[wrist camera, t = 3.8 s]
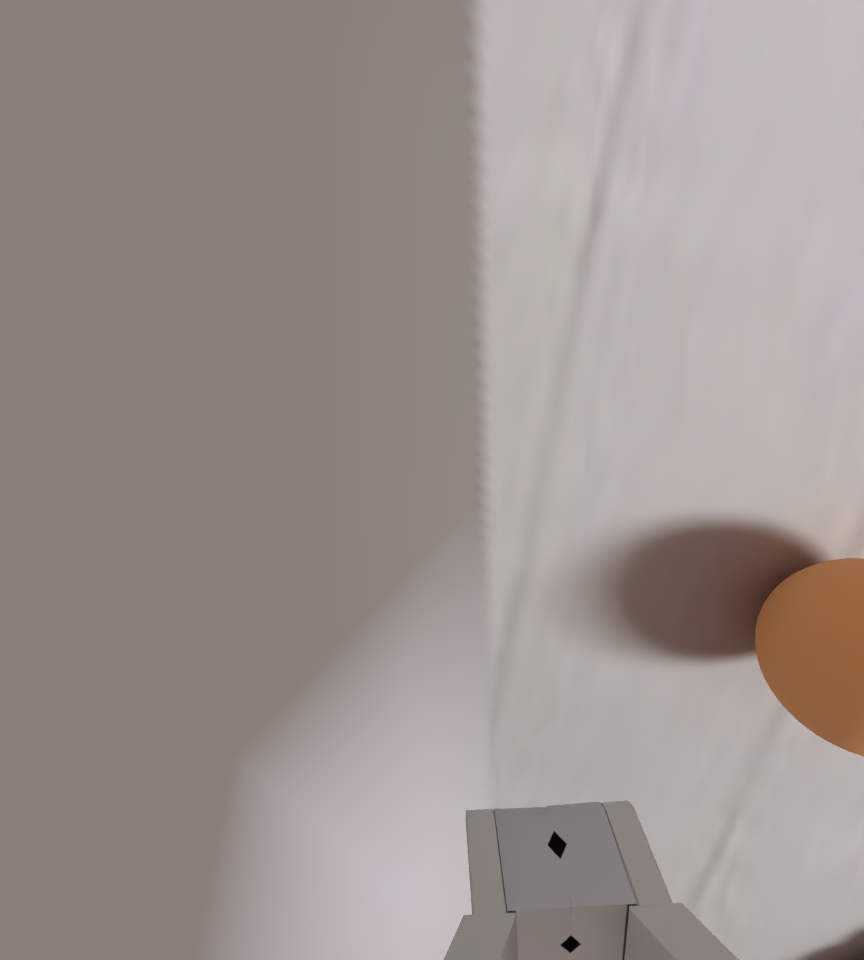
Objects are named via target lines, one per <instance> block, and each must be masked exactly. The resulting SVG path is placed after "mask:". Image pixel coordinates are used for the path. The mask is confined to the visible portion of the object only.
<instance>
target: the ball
mask: <svg viewBox="0 0 864 960" xmlns="http://www.w3.org/2000/svg"><path fill="white" fill-rule="evenodd" d="M755 647H756V654H757V658H758V662H759V665H760V668H761V671H762V673H763V675H764V678H765V680H766V681H767V683H768V685H769V687H770V689H771V690H772V692H773V693H774V694H775V696H776V697H777V699H778V700H779V701H780V703H781V704H782V705H783V706H784V707H785V708H786V709H787V710H788V711H789V712H790V713H791V714H792V715H793V716H794V717H795V718H796V719H797V720H798V721H799V722H800V723H802V724H803V725H804V726H806V727H807V728H808V729H809V730H811V731H812V732H814V733H815V734H817V735H818V736H820V737H821V738H823V739H825V740H826V741H828V742H830V743H832V744H834V745H836V746H838V747H840V748H843V749H845V750H847V751H849V752H852V753H855V754H858V755H861V756H864V559H860V558H847V559H839V560H831V561H826V562H821V563H818V564H815V565H812V566H809V567H806V568H804V569H802V570H800V571H797V572H796V573H794V574H792V575H791V576H789V577H788V578H786V579H785V580H783V581H782V582H781V583H780V584H779V585H778V586H777V587H776V588H775V589H774V590H773V591H772V592H771V593H770V595H769V596H768V597H767V599H766V601H765V602H764V604H763V606H762V608H761V611H760V613H759V616H758V619H757V623H756V631H755Z"/></svg>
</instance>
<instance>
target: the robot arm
mask: <svg viewBox="0 0 864 960" xmlns="http://www.w3.org/2000/svg"><path fill="white" fill-rule="evenodd" d="M466 830H467V845H468V860H469V873H470V888H471V902H472V915H464V916H463V918H462V921H461V923H460V925H459V927H458V929H457V932H456V934H455V936H454V938H453V940H452V943H451V945H450V947H449V950H448V952H447V954H446V956H445V958H444V960H739V959H738V958H737V957H736V956H735V955H734V954H733V953H732V952H731V951H729V950H728V949H727V948H726V947H725V946H724V945H723V944H722V943H721V942H720V941H719V940H718V939H717V938H716V937H715V936H714V935H713V934H712V933H711V932H710V931H709V930H708V929H707V928H706V927H705V926H704V925H703V924H702V923H701V922H700V921H699V920H698V919H697V918H696V917H695V916H694V915H693V914H692V913H691V912H690V911H689V910H688V909H687V908H686V907H685V906H684V905H683V904H682V903H672V900H671V898H670V895H669V893H668V890H667V888H666V885H665V883H664V880H663V878H662V875H661V873H660V870H659V868H658V865H657V863H656V861H655V858H654V856H653V853H652V851H651V848H650V846H649V843H648V841H647V838H646V836H645V833H644V831H643V828H642V826H641V823H640V821H639V819H638V816H637V814H636V811H635V809H634V807H633V806H632V804H631V803H630V802H629V801H617V802H605V803H600V802H590V803H578V804H565V805H552V806H546V807H534V808H510V809H494V810H493V809H483V810H467V811H466Z"/></svg>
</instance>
